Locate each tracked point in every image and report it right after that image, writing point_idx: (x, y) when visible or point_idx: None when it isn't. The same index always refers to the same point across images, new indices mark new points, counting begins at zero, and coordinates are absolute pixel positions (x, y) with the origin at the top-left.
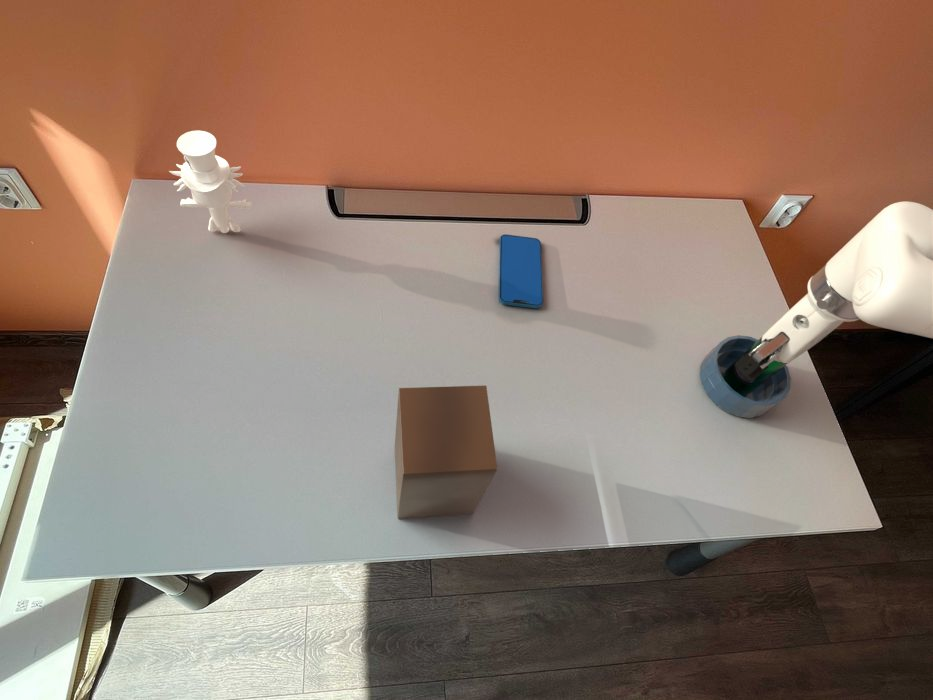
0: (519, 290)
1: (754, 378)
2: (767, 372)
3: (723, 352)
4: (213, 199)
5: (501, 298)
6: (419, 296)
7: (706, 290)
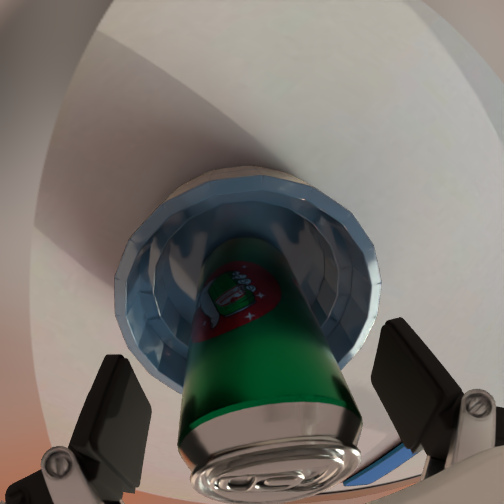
0: None
1: (412, 330)
2: (313, 330)
3: None
4: None
5: None
6: None
7: (159, 430)
